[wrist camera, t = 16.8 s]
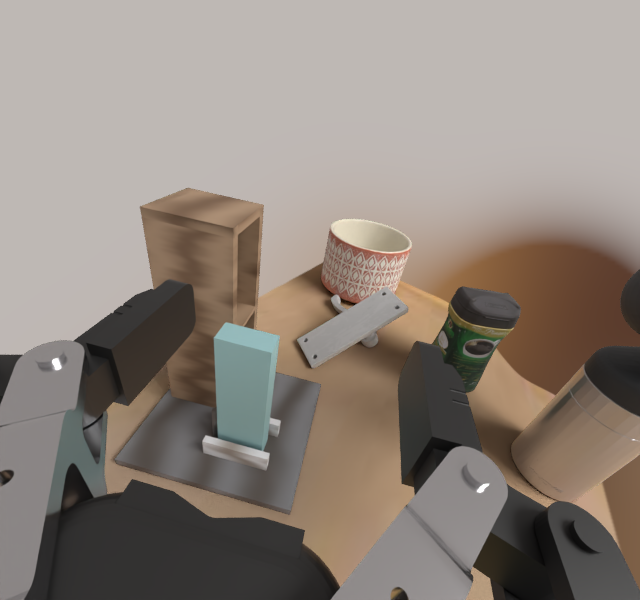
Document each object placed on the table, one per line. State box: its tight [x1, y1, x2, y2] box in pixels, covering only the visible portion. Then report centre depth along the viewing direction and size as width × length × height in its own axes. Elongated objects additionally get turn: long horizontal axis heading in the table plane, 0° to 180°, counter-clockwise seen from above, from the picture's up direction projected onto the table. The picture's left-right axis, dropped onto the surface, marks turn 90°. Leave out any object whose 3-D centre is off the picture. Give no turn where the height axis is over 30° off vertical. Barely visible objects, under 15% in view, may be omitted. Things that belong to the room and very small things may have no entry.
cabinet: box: [115, 188, 321, 515], centre depth 35 cm, size 21×18×28 cm
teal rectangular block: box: [214, 322, 280, 451], centre depth 34 cm, size 6×4×18 cm, turn 79°
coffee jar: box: [432, 287, 520, 392], centre depth 51 cm, size 10×8×19 cm
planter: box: [321, 219, 412, 304], centre depth 74 cm, size 19×19×15 cm
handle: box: [297, 287, 408, 368], centre depth 62 cm, size 18×8×20 cm
